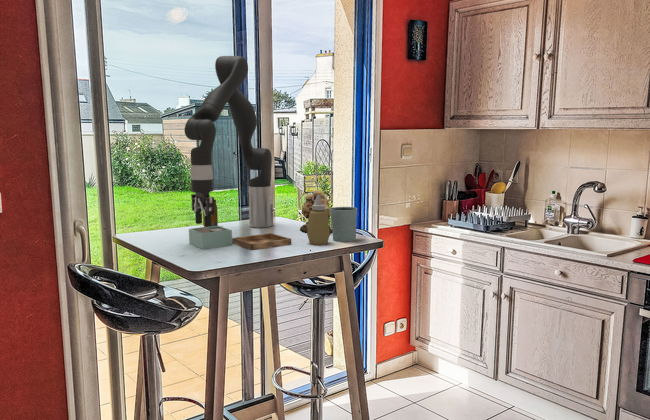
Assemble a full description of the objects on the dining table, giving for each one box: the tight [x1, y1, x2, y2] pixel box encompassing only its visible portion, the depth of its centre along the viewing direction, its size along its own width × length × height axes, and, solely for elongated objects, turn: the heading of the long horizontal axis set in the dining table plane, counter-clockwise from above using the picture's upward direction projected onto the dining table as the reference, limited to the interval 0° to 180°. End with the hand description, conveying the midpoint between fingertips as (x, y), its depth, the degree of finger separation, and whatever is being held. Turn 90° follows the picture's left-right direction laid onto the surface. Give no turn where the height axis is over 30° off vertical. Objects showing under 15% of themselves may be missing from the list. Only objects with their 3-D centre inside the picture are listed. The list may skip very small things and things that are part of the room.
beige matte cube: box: [195, 228, 209, 233], centre depth 193 cm, size 4×4×5 cm
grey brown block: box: [209, 228, 224, 232], centre depth 195 cm, size 4×4×5 cm
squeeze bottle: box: [306, 195, 331, 246], centre depth 195 cm, size 8×8×18 cm
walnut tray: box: [232, 232, 292, 251], centre depth 195 cm, size 16×14×3 cm
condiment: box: [202, 198, 224, 227], centre depth 231 cm, size 7×8×12 cm
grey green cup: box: [329, 206, 358, 243], centre depth 205 cm, size 10×10×12 cm
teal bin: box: [188, 225, 233, 250], centre depth 194 cm, size 11×11×6 cm
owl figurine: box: [299, 189, 333, 235], centre depth 222 cm, size 18×12×17 cm, turn 34°
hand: (203, 225), depth 192 cm, fingers open, 7 cm apart
